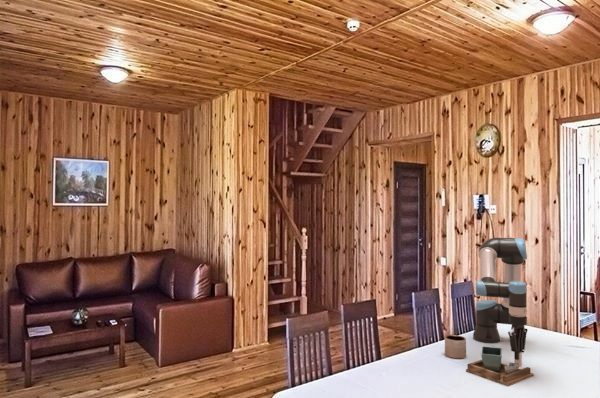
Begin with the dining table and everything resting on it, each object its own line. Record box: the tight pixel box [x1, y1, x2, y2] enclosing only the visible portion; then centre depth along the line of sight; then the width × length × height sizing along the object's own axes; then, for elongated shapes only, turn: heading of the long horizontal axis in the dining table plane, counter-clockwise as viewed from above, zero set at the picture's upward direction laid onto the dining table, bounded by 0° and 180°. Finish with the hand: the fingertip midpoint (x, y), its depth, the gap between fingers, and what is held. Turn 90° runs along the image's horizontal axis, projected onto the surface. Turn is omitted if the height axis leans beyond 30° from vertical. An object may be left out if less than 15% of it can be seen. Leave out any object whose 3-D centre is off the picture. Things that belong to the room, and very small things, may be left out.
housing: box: [465, 359, 535, 387], centre depth 208 cm, size 21×22×4 cm
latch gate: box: [505, 362, 520, 375], centre depth 202 cm, size 2×9×6 cm, turn 125°
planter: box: [444, 334, 467, 360], centre depth 234 cm, size 11×11×10 cm
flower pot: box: [480, 346, 503, 371], centre depth 210 cm, size 9×9×9 cm
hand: (518, 366), depth 205 cm, fingers closed
